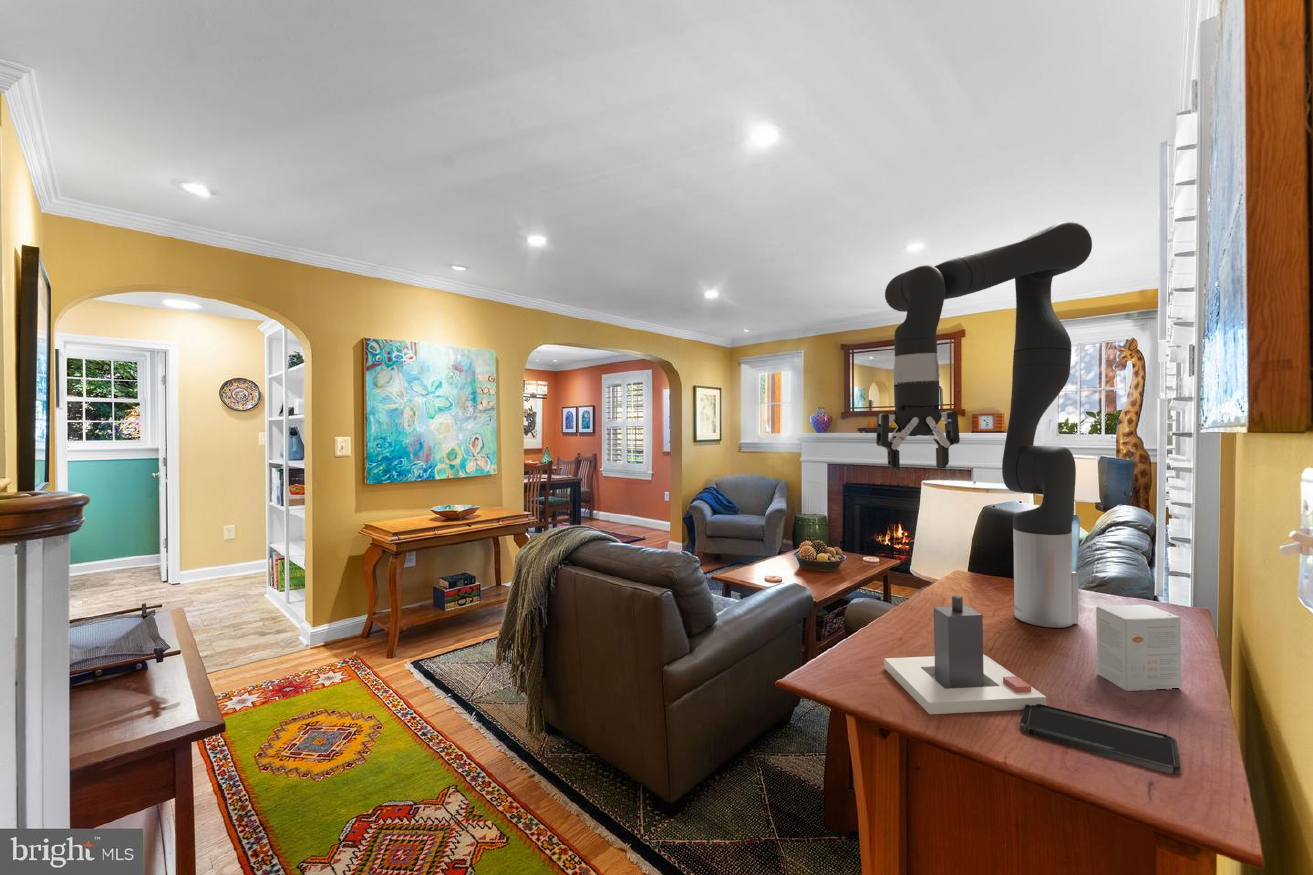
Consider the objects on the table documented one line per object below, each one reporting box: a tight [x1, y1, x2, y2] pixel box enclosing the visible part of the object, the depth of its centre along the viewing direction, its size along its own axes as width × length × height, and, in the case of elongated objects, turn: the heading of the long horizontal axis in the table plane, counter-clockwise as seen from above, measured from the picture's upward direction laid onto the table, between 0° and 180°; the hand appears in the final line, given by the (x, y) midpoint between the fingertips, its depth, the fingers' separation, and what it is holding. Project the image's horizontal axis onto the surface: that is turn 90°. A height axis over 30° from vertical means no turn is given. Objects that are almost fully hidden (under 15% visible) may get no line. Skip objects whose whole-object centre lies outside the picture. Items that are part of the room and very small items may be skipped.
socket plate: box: [883, 653, 1047, 715], centre depth 83 cm, size 16×14×2 cm
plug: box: [933, 595, 984, 689], centre depth 83 cm, size 5×4×13 cm
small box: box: [1095, 604, 1182, 692], centre depth 82 cm, size 8×6×10 cm
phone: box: [1019, 704, 1181, 775], centre depth 69 cm, size 8×1×15 cm
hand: (918, 469), depth 103 cm, fingers open, 8 cm apart
